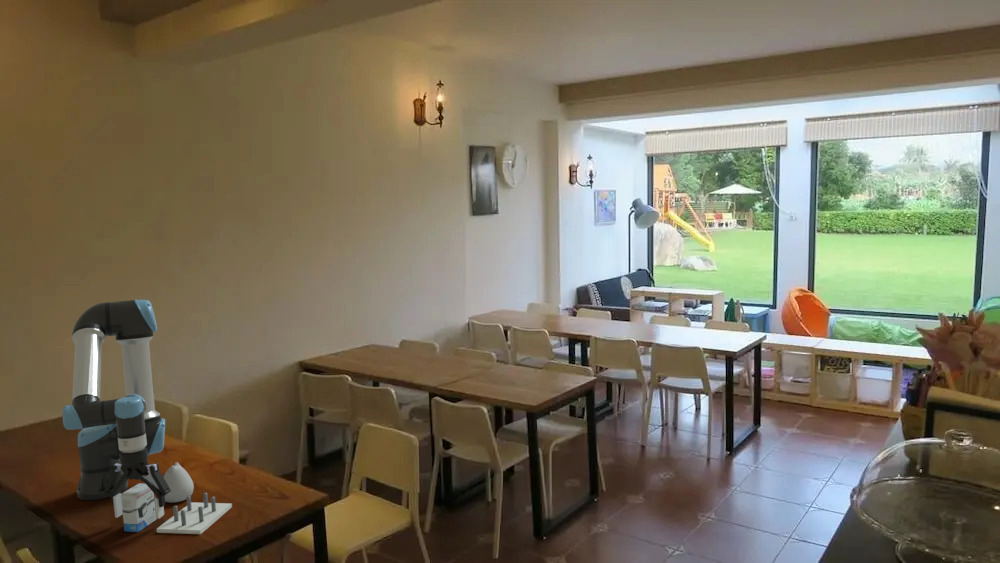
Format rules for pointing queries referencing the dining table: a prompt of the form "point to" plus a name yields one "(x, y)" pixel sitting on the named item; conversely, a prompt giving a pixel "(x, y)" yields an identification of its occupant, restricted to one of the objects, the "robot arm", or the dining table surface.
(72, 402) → the robot arm
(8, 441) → the dining table surface
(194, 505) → the peg board
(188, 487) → the toy character
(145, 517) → the ink box
